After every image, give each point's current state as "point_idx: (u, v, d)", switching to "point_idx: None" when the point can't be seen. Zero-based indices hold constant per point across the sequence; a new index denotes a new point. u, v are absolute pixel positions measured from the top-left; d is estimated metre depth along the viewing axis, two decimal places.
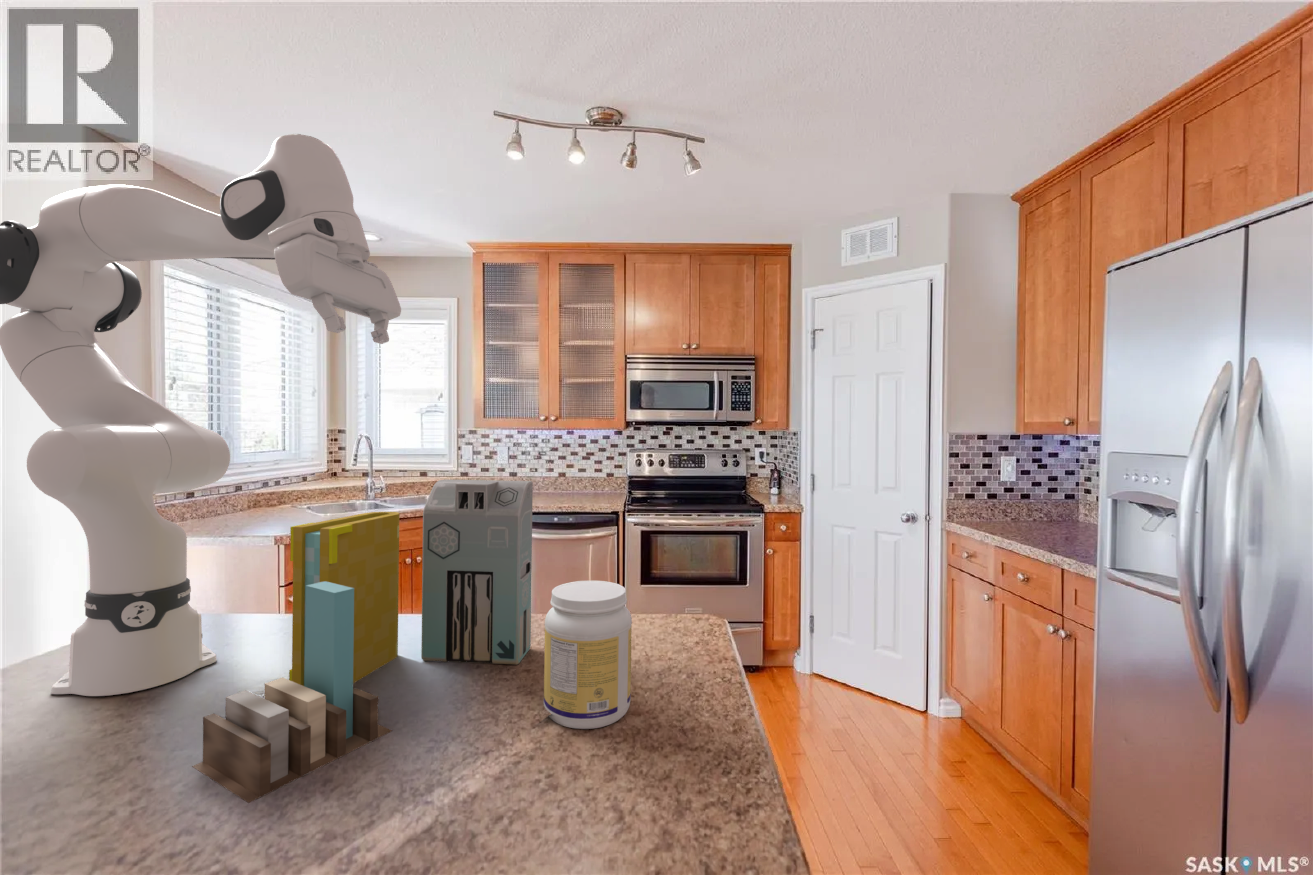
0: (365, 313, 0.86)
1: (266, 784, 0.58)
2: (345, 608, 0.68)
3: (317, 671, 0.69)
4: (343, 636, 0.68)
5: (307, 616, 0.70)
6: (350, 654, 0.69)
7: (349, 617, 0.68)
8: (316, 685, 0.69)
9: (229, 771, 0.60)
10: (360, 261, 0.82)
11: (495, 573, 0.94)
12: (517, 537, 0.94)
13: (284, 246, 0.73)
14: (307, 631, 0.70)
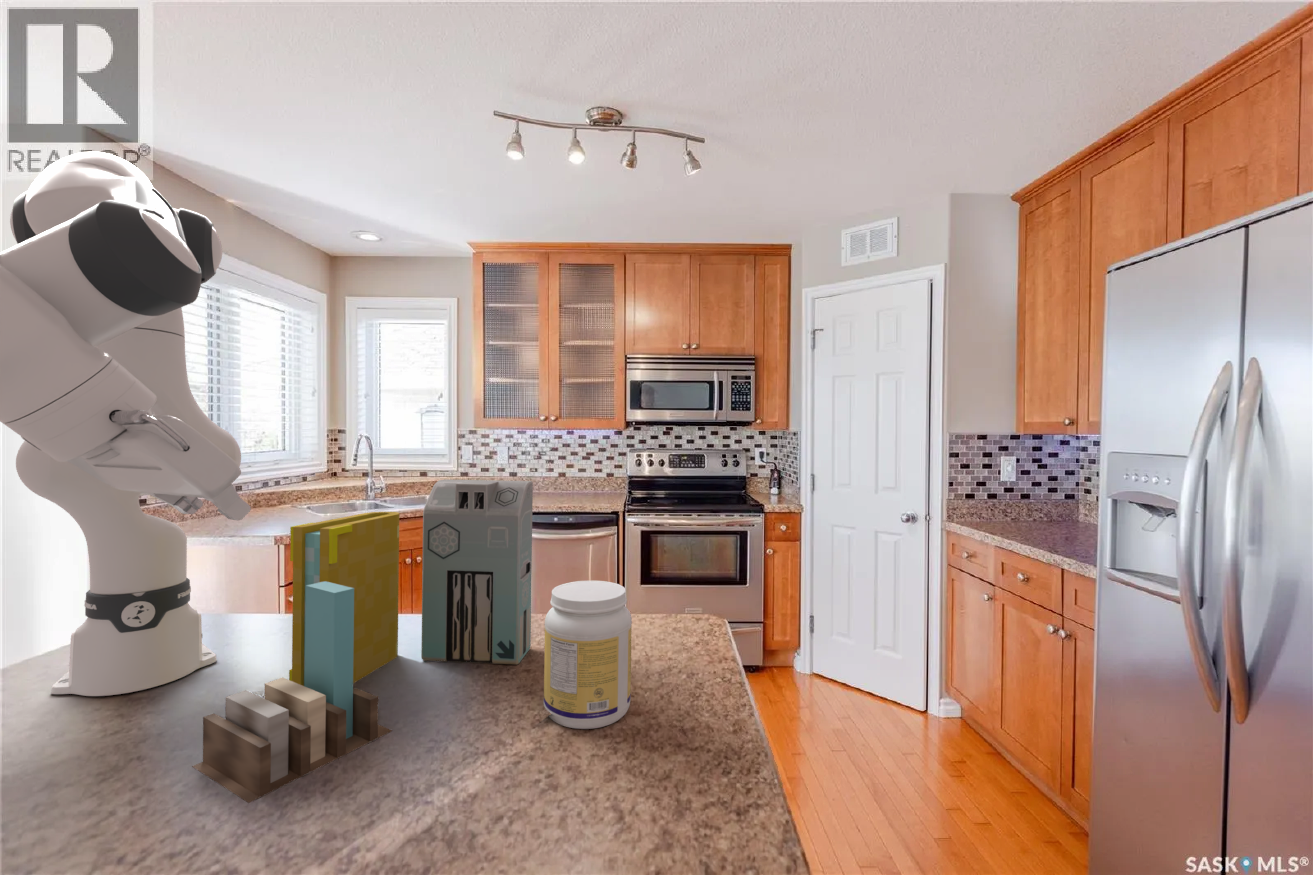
0: None
1: (266, 784, 0.58)
2: (345, 608, 0.68)
3: (317, 671, 0.69)
4: (343, 636, 0.68)
5: (307, 616, 0.70)
6: (350, 654, 0.69)
7: (349, 617, 0.68)
8: (316, 685, 0.69)
9: (229, 771, 0.60)
10: (96, 463, 0.50)
11: (496, 573, 0.94)
12: (517, 537, 0.94)
13: None
14: (307, 631, 0.70)
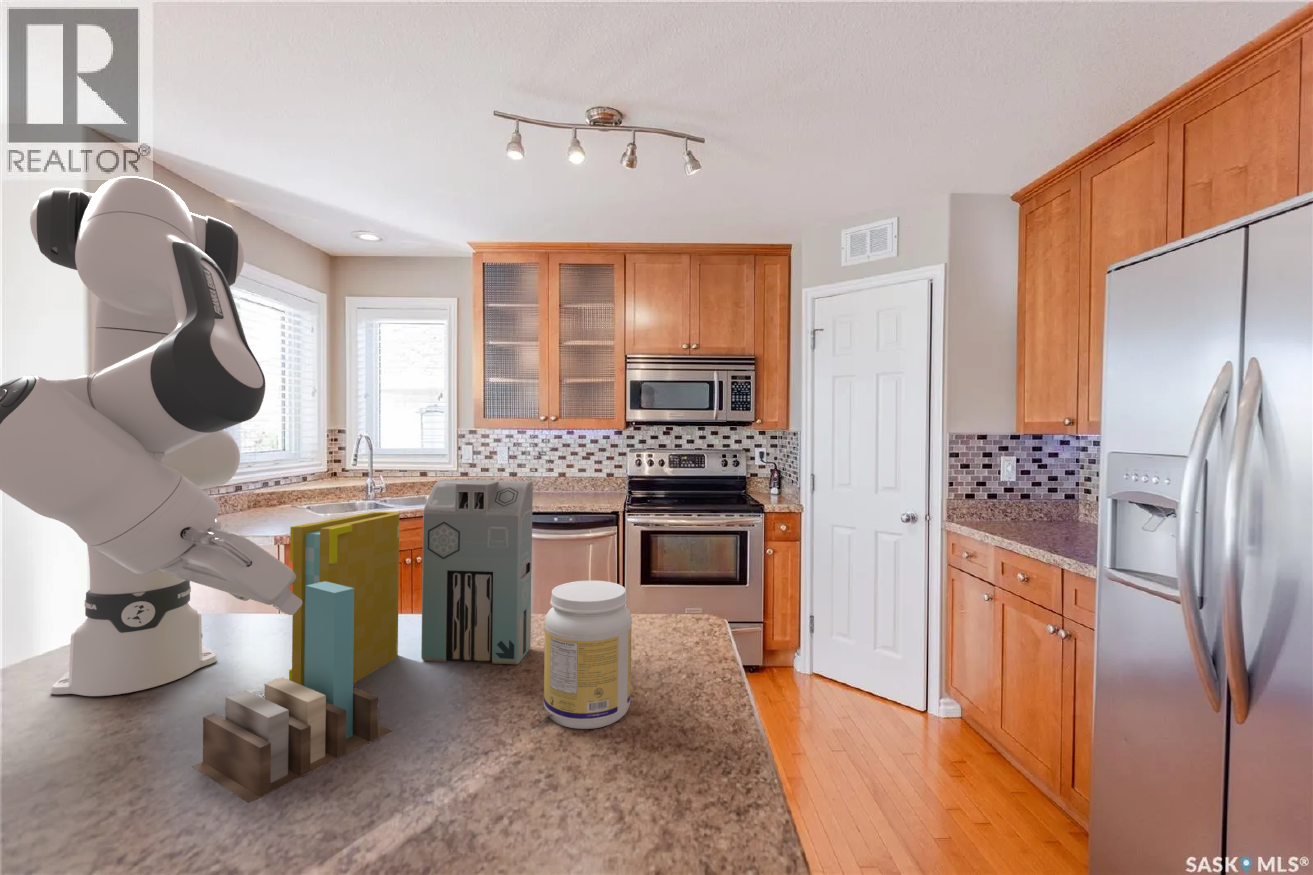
0: None
1: (266, 784, 0.58)
2: (345, 608, 0.68)
3: (317, 671, 0.69)
4: (343, 636, 0.68)
5: (307, 616, 0.70)
6: (350, 654, 0.69)
7: (349, 617, 0.68)
8: (316, 685, 0.69)
9: (229, 771, 0.60)
10: None
11: (495, 573, 0.94)
12: (517, 537, 0.94)
13: None
14: (307, 631, 0.70)
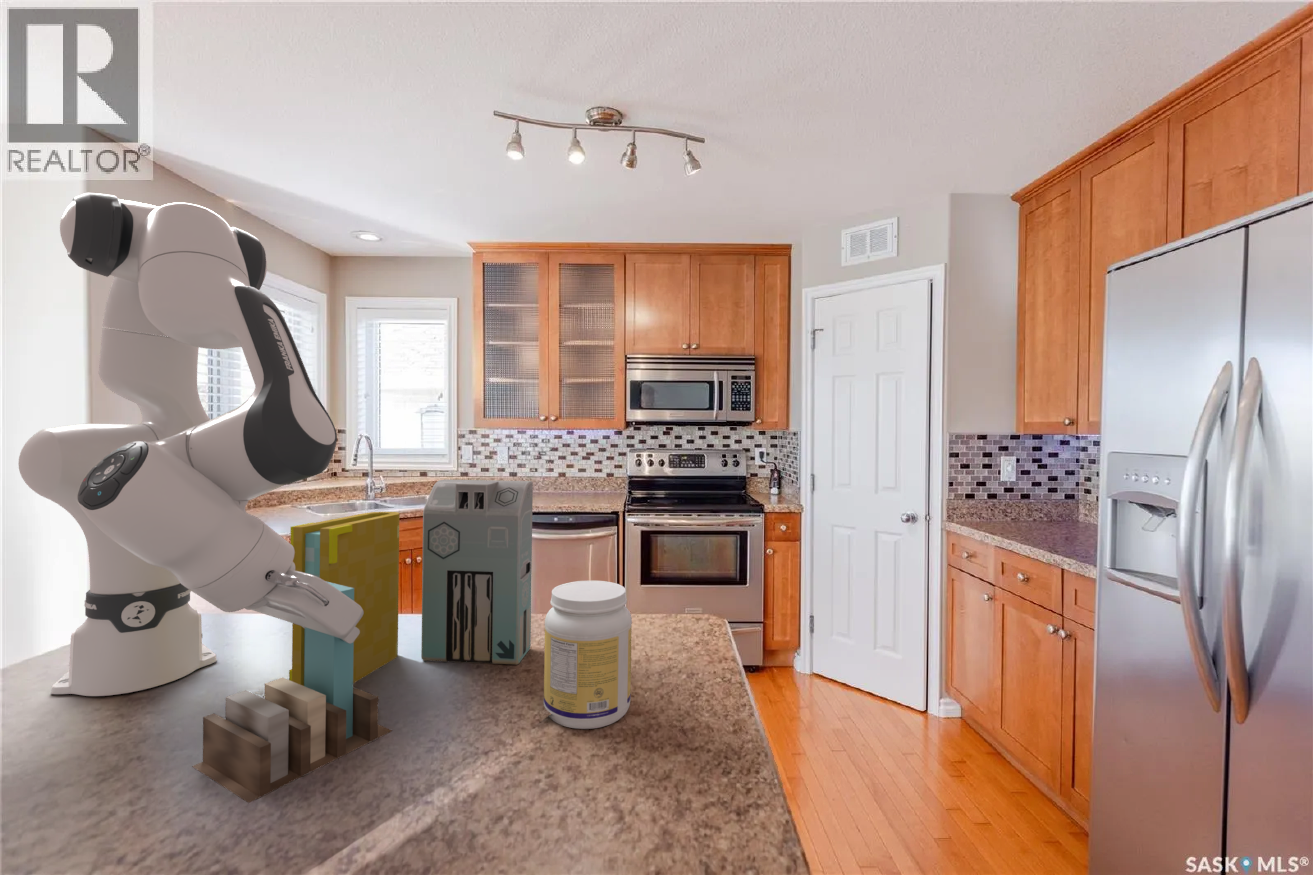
0: None
1: (266, 784, 0.58)
2: None
3: (317, 671, 0.69)
4: None
5: None
6: (350, 654, 0.69)
7: None
8: (316, 685, 0.69)
9: (229, 771, 0.60)
10: None
11: (495, 573, 0.94)
12: (517, 537, 0.94)
13: None
14: (307, 631, 0.70)
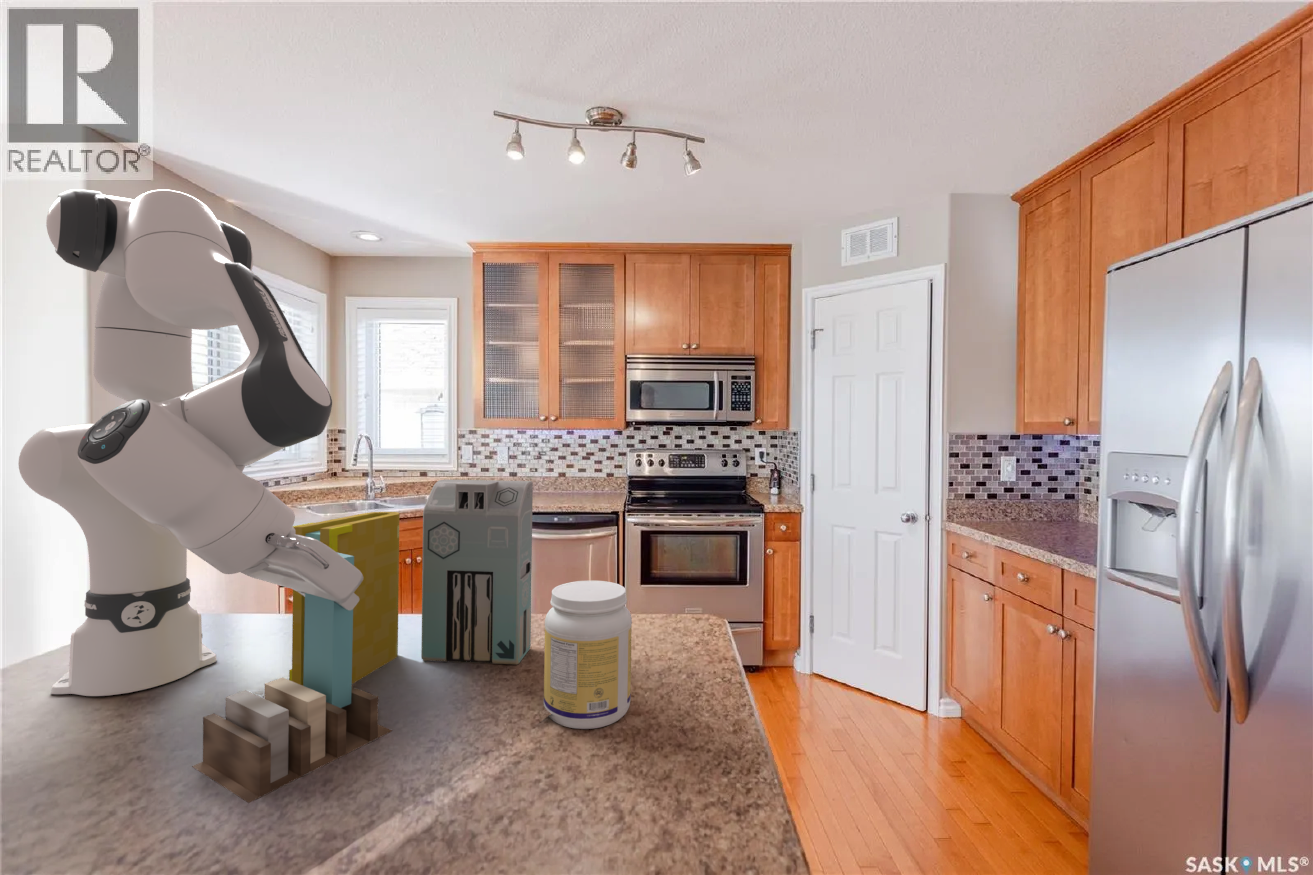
0: None
1: (266, 784, 0.58)
2: None
3: (316, 638, 0.69)
4: None
5: None
6: (349, 622, 0.69)
7: None
8: (316, 652, 0.69)
9: (229, 771, 0.60)
10: None
11: (496, 573, 0.94)
12: (517, 537, 0.94)
13: None
14: (307, 599, 0.70)
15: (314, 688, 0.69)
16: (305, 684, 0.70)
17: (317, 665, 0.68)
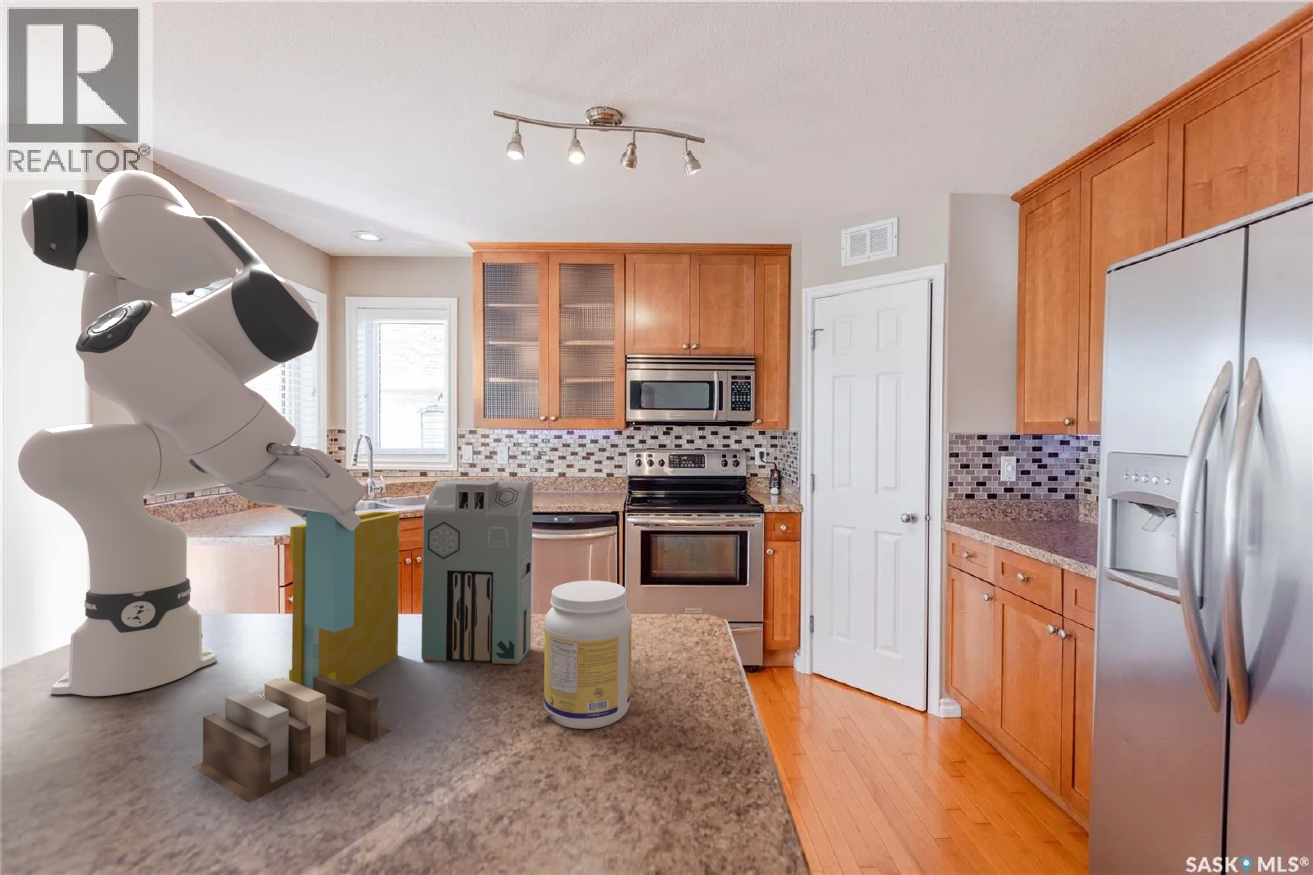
0: None
1: (266, 784, 0.58)
2: None
3: (318, 560, 0.68)
4: None
5: None
6: (351, 544, 0.69)
7: None
8: (317, 575, 0.68)
9: (229, 771, 0.60)
10: None
11: (496, 573, 0.94)
12: (517, 537, 0.94)
13: None
14: (308, 522, 0.69)
15: (316, 611, 0.69)
16: (307, 608, 0.70)
17: (319, 587, 0.68)
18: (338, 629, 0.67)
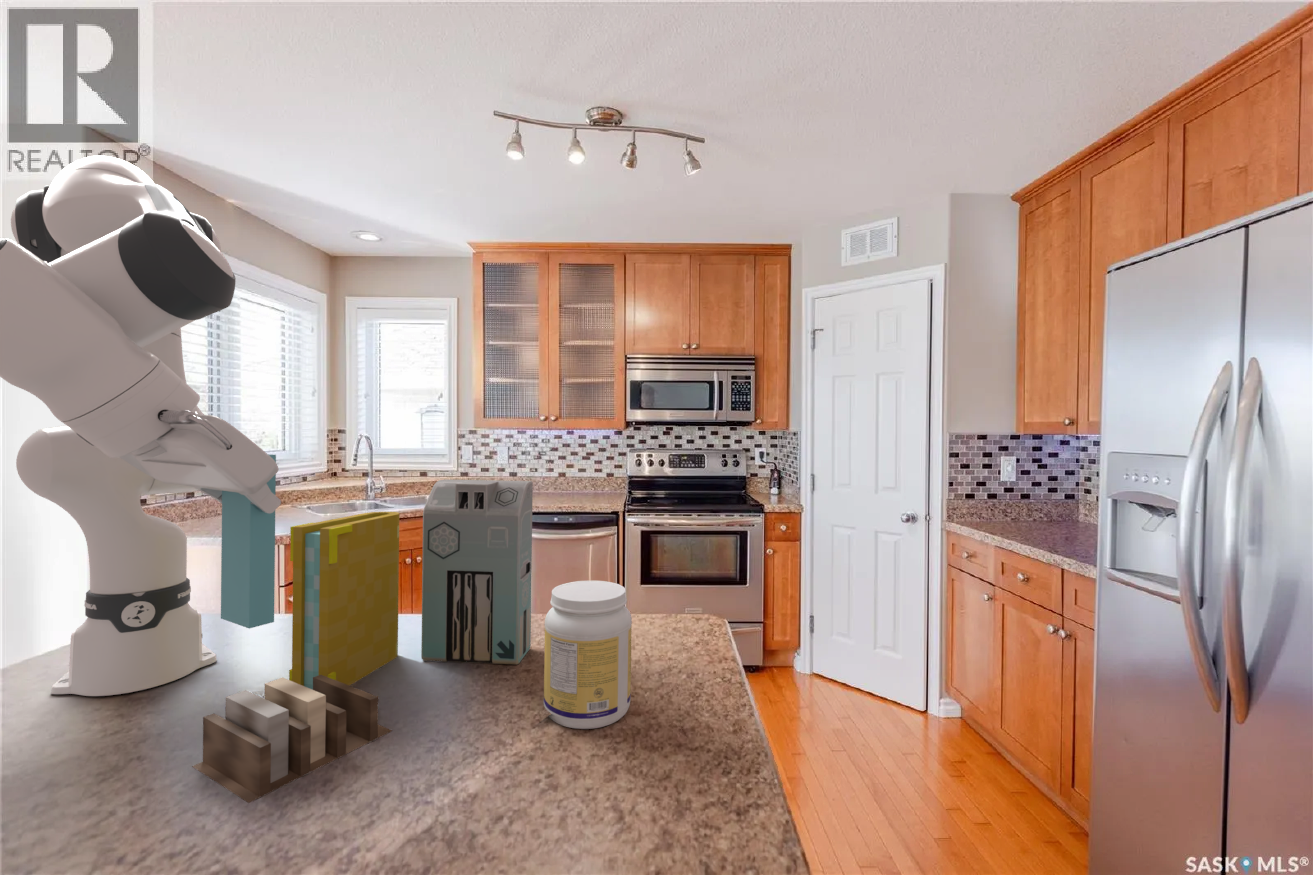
0: None
1: (266, 784, 0.58)
2: None
3: (233, 547, 0.61)
4: None
5: None
6: (271, 529, 0.61)
7: (270, 486, 0.60)
8: (233, 564, 0.61)
9: (229, 771, 0.60)
10: (145, 459, 0.53)
11: (495, 573, 0.94)
12: (517, 537, 0.94)
13: None
14: (224, 504, 0.62)
15: (231, 604, 0.61)
16: (223, 601, 0.62)
17: (234, 577, 0.60)
18: (254, 625, 0.59)
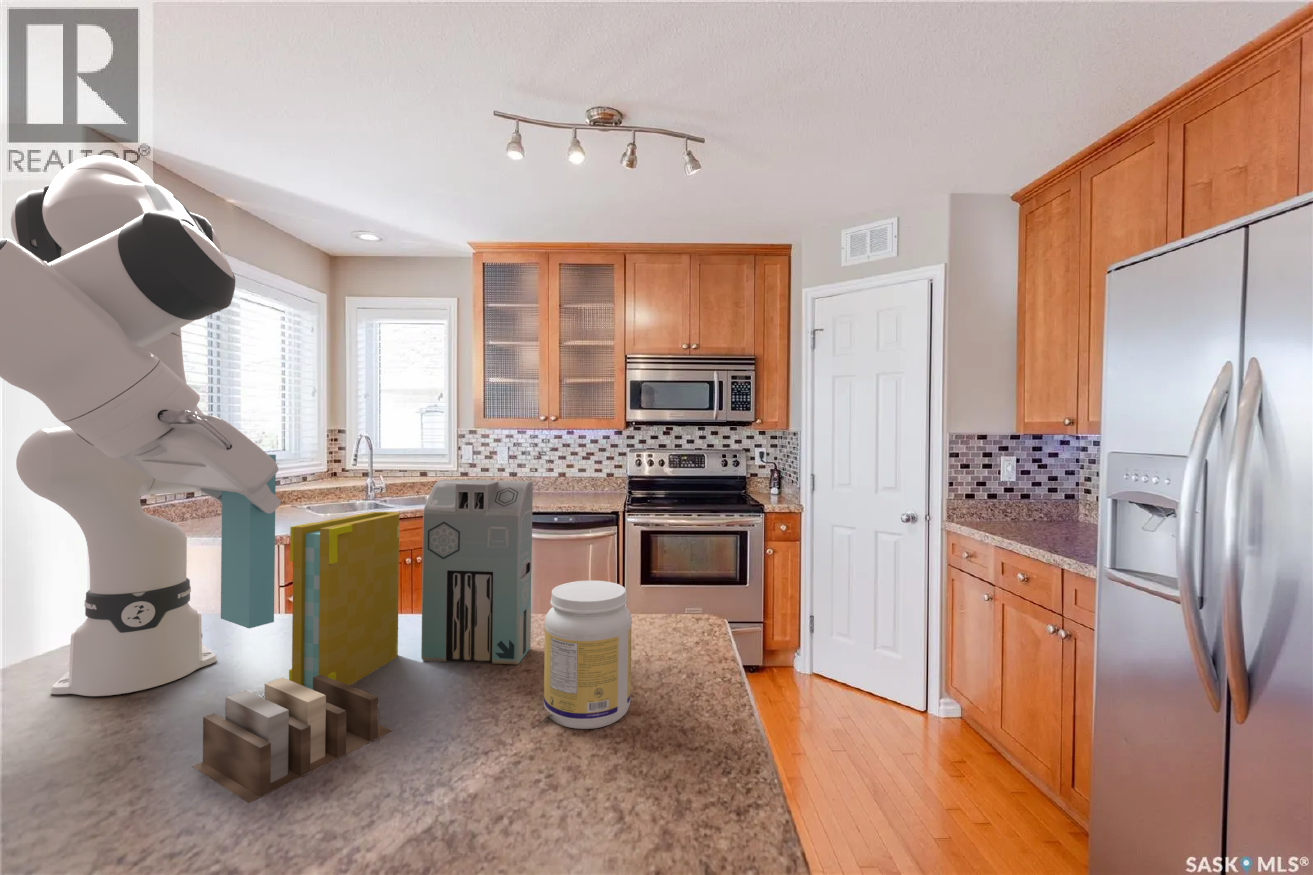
0: None
1: (266, 784, 0.58)
2: None
3: (233, 547, 0.61)
4: None
5: None
6: (271, 529, 0.61)
7: (270, 486, 0.60)
8: (233, 564, 0.61)
9: (229, 771, 0.60)
10: (145, 459, 0.53)
11: (495, 573, 0.94)
12: (517, 537, 0.94)
13: None
14: (224, 505, 0.62)
15: (231, 604, 0.61)
16: (222, 601, 0.62)
17: (234, 577, 0.60)
18: (254, 625, 0.59)
